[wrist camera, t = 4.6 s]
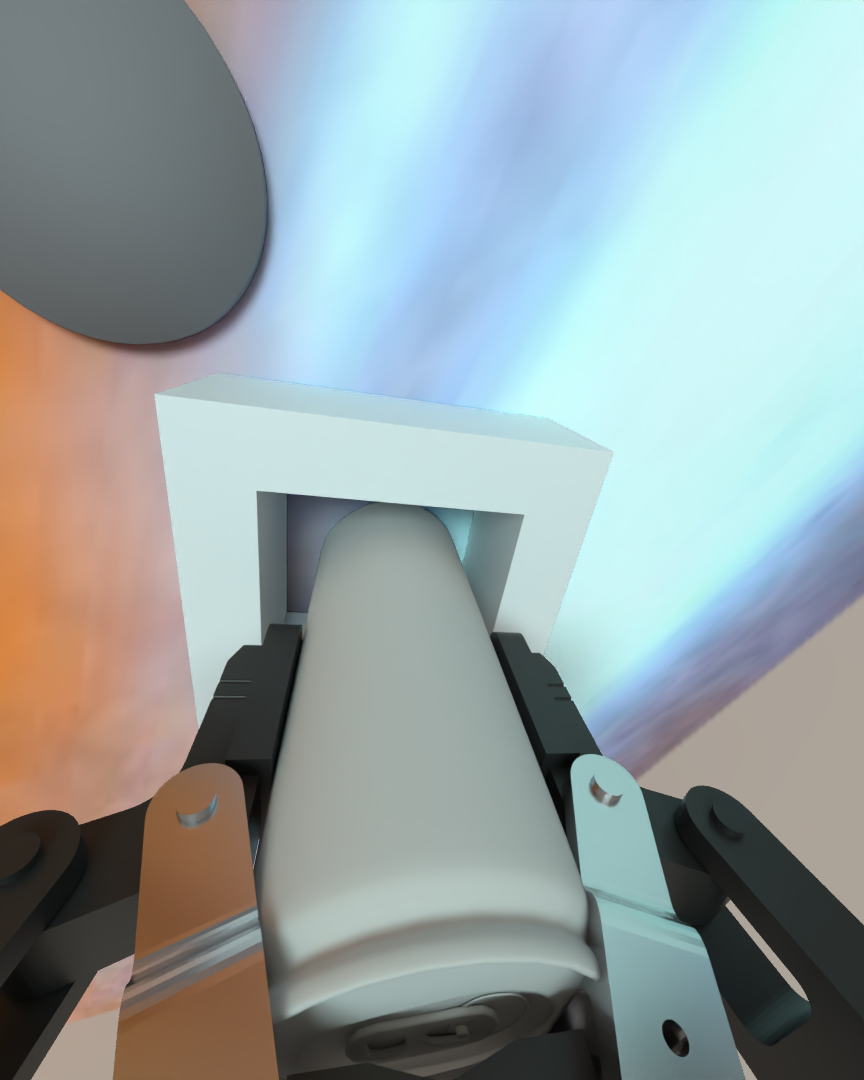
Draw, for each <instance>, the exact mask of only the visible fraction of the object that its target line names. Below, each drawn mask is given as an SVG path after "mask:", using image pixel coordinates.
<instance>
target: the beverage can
mask: <svg viewBox="0 0 864 1080" xmlns="http://www.w3.org/2000/svg"><path fill="white" fill-rule="evenodd" d="M253 874H254V882H255V891H256V900H257V908H258V916H259V921H260V927H261V934H262V941H263V949H264V958H265V966H266V975H267V983H268V992H269V1000H270V1009H271V1017H272V1025H273V1034H274V1042H275V1051H276V1059H277V1068H278V1076H279V1080H286V1078H287V1075H291V1074H298V1073H304V1072H310V1071H317V1070H323V1069H329V1068H336V1067H342V1066H348V1065H355V1064H361V1063H371V1064H375V1065H379V1066H382V1067H386V1068H390V1069H394V1070H398V1071H402V1072H406V1073H410V1074H414V1075H418V1076H421V1077H425V1078H429V1079H433V1080H453V1079H455V1078H457V1077H459V1076H460V1075H462V1074H463V1073H465V1072H466V1071H468V1070H469V1069H471V1068H473V1067H474V1066H476V1065H477V1064H479V1063H480V1062H482V1061H483V1060H485V1059H487V1058H488V1057H490V1056H491V1055H493V1054H494V1053H496V1052H497V1051H499V1050H501V1049H502V1048H504V1047H505V1046H507V1045H508V1044H510V1043H511V1042H513V1041H515V1040H516V1039H520V1038H526V1037H533V1036H539V1035H541V1034H542V1033H544V1032H545V1031H546V1030H547V1029H548V1028H549V1027H550V1025H551V1024H552V1023H553V1022H554V1021H555V1019H556V1018H557V1017H558V1016H559V1014H560V1013H561V1011H562V1010H563V1008H564V1007H565V1006H566V1004H567V1003H568V1001H569V1000H570V998H571V996H572V995H573V993H574V992H575V990H576V989H577V987H578V986H579V984H580V982H581V981H582V979H583V977H584V975H585V976H587V977H589V978H592V979H593V980H594V981H598V980H599V979H600V970H599V965H598V961H597V959H596V957H595V955H594V953H593V952H592V951H591V949H590V948H589V947H588V946H587V942H586V936H587V924H588V913H589V907H588V900H587V896H586V892H585V889H584V886H583V883H582V880H581V877H580V874H579V871H578V868H577V865H576V862H575V859H574V856H573V853H572V851H571V848H570V845H569V843H568V840H567V837H566V835H565V832H564V830H563V827H562V824H561V822H560V819H559V817H558V814H557V811H556V809H555V806H554V804H553V801H552V798H551V796H550V793H549V790H548V788H547V785H546V783H545V780H544V777H543V775H542V772H541V770H540V767H539V764H538V762H537V759H536V757H535V754H534V751H533V749H532V746H531V743H530V741H529V738H528V736H527V733H526V730H525V728H524V725H523V723H522V720H521V717H520V715H519V712H518V710H517V707H516V704H515V702H514V699H513V696H512V694H511V691H510V689H509V686H508V683H507V681H506V678H505V676H504V673H503V670H502V668H501V665H500V663H499V660H498V657H497V655H496V652H495V649H494V647H493V644H492V642H491V639H490V636H489V634H488V631H487V629H486V626H485V623H484V621H483V618H482V616H481V613H480V610H479V608H478V605H477V602H476V600H475V597H474V595H473V592H472V589H471V587H470V584H469V582H468V579H467V576H466V574H465V571H464V569H463V566H462V563H461V561H460V558H459V555H458V553H457V550H456V548H455V545H454V542H453V540H452V538H451V536H450V534H449V532H448V530H447V528H446V527H445V526H444V524H443V523H442V522H441V521H440V520H439V519H438V518H437V517H436V516H435V515H433V514H432V513H430V512H429V511H427V510H426V509H424V508H422V507H421V506H418V505H410V504H399V503H388V502H376V503H372V504H368V505H365V506H363V507H361V508H359V509H357V510H355V511H353V512H351V513H350V514H348V515H347V516H346V517H344V518H343V519H342V520H340V521H339V522H338V523H337V524H335V526H334V527H333V528H332V530H331V531H330V532H329V533H328V535H327V536H326V537H325V540H324V543H323V547H322V550H321V553H320V558H319V562H318V567H317V572H316V576H315V581H314V586H313V591H312V595H311V600H310V605H309V609H308V614H307V619H306V624H305V628H304V633H303V638H302V644H301V649H300V654H299V659H298V663H297V668H296V673H295V678H294V682H293V687H292V692H291V697H290V701H289V706H288V711H287V716H286V720H285V725H284V730H283V735H282V739H281V744H280V749H279V754H278V759H277V763H276V768H275V773H274V778H273V782H272V787H271V790H270V793H269V798H268V803H267V807H266V812H265V817H264V822H263V826H262V831H261V836H260V840H259V845H258V850H257V855H256V859H255V864H254V869H253Z"/></svg>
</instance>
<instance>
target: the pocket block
mask: <svg viewBox="0 0 864 1080" xmlns="http://www.w3.org/2000/svg"><path fill="white" fill-rule="evenodd" d="M155 402H156V409H157V417H158V424H159V432H160V440H161V447H162V455H163V462H164V470H165V478H166V485H167V493H168V500H169V508H170V516H171V523H172V531H173V538H174V546H175V554H176V561H177V569H178V576H179V584H180V592H181V599H182V607H183V614H184V622H185V630H186V637H187V645H188V652H189V660H190V668H191V675H192V683H193V690H194V698H195V706H196V713H197V721H198V728H200V726H201V723H202V721H203V718H204V716H205V714H206V711H207V709H208V706H209V704H210V702H211V699H213V694H214V692H215V690H216V687H217V685H218V683H219V682H220V678H221V675H222V673H223V671H224V668H225V666H226V663H227V661H228V660H229V659H230V658H231V657H232V656H233V655H234V654H235V653H236V652H237V651H238V650H239V649H240V648H241V647H242V646H243V645H263V642H264V639H265V636H266V633H267V630H268V627H269V625H270V624H296V625H302V638H303V633H304V628H305V624H306V619H307V614H308V613H295V612H287V493H288V494H299V495H310V496H321V497H332V498H343V499H355V500H366V501H377V502H388V503H399V504H410V505H422V506H433V507H444V508H455V509H466V510H475V511H474V516H473V520H472V525H471V530H470V534H469V539H468V544H467V549H466V553H465V558H464V563H463V569H464V571H465V574H466V576H467V579H468V582H469V584H470V587H471V589H472V592H473V595H474V597H475V600H476V602H477V605H478V608H479V610H480V613H481V616H482V618H483V621H484V623H485V626H486V629H487V631H488V634H489V636H490V635H491V633H492V632H513V633H521V634H522V635H523V637H524V638H525V640H526V642H527V644H528V646H529V649H530V651H531V653H540V654H542V655H544V652H545V649H546V646H547V643H548V641H549V638H550V635H551V632H552V629H553V626H554V623H555V620H556V618H557V615H558V612H559V609H560V606H561V603H562V600H563V597H564V594H565V592H566V589H567V586H568V583H569V580H570V577H571V574H572V571H573V569H574V566H575V563H576V560H577V557H578V554H579V551H580V548H581V546H582V543H583V540H584V537H585V534H586V531H587V528H588V525H589V522H590V520H591V517H592V514H593V511H594V508H595V505H596V502H597V499H598V497H599V494H600V491H601V488H602V485H603V482H604V479H605V476H606V474H607V471H608V468H609V465H610V462H611V459H612V456H613V453H614V452H613V451H611V450H609V449H607V448H605V447H603V446H601V445H599V444H597V443H595V442H593V441H591V440H590V439H588V438H586V437H584V436H582V435H580V434H578V433H576V432H574V431H572V430H570V429H568V428H566V427H564V426H562V425H560V424H558V423H556V422H554V421H553V420H551V419H549V418H542V417H535V416H527V415H520V414H513V413H506V412H499V411H491V410H484V409H477V408H470V407H463V406H455V405H448V404H441V403H434V402H427V401H419V400H412V399H405V398H398V397H391V396H383V395H376V394H369V393H362V392H355V391H347V390H340V389H333V388H326V387H319V386H311V385H304V384H297V383H290V382H283V381H275V380H268V379H261V378H254V377H247V376H239V375H232V374H225V373H217V374H214V375H211V376H208V377H205V378H202V379H199V380H196V381H193V382H190V383H187V384H184V385H180V386H177V387H174V388H171V389H168V390H165V391H162V392H159V393H156V394H155Z"/></svg>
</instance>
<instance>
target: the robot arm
mask: <svg viewBox="0 0 864 1080" xmlns="http://www.w3.org/2000/svg"><path fill="white" fill-rule="evenodd" d="M490 639H491V642H492V644H493V647H494V649H495V652H496V655H497V657H498V660H499V663H500V665H501V668H502V670H503V673H504V676H505V678H506V681H507V683H508V686H509V689H510V691H511V694H512V696H513V699H514V702H515V704H516V707H517V710H518V712H519V715H520V717H521V720H522V723H523V725H524V728H525V730H526V733H527V736H528V738H529V741H530V743H531V746H532V749H533V751H534V754H535V757H536V759H537V762H538V764H539V767H540V770H541V772H542V775H543V777H544V780H545V783H546V785H547V788H548V790H549V793H550V796H551V798H552V801H553V804H554V806H555V809H556V811H557V814H558V817H559V819H560V822H561V824H562V827H563V830H564V832H565V835H566V837H567V840H568V843H569V845H570V848H571V851H572V853H573V856H574V859H575V862H576V865H577V868H578V871H579V874H580V877H581V880H582V883H583V886H584V889H585V892H586V896H587V900H588V907H589V913H588V924H587V936H586V942H587V946H588V947H589V948H590V949H591V951H592V952H593V953H594V955H595V957H596V959H597V961H598V965H599V970H600V979H599V980H598V981H594V980H593V979H592V978H589V977H587V976H585V975H584V977H583V979H582V981H581V982H580V984H579V986H578V987H577V989H576V990H575V992H574V993H573V995H572V996H571V998H570V1000H569V1001H568V1003H567V1004H566V1006H565V1007H564V1008H563V1010H562V1011H561V1013H560V1014H559V1016H558V1017H557V1018H556V1019H555V1021H554V1022H553V1023H552V1024H551V1025H550V1027H549V1028H548V1029H547V1030H546V1031H545V1032H544V1033H542V1034H541V1035H539V1036H533V1037H526V1038H520V1039H516V1040H515V1041H513V1042H511V1043H510V1044H508V1045H507V1046H505V1047H504V1048H502V1049H501V1050H499V1051H497V1052H496V1053H494V1054H493V1055H491V1056H490V1057H488V1058H487V1059H485V1060H483V1061H482V1062H480V1063H479V1064H477V1065H476V1066H474V1067H473V1068H471V1069H469V1070H468V1071H466V1072H465V1073H463V1074H462V1075H460V1076H459V1077H457V1078H455V1079H453V1080H745V1076H744V1073H743V1069H742V1066H741V1063H740V1059H739V1056H738V1053H737V1050H738V1051H739V1053H740V1054H741V1056H742V1057H743V1059H744V1060H745V1061H746V1063H747V1065H748V1066H749V1068H750V1069H751V1070H752V1072H753V1074H754V1075H755V1076H756V1078H757V1080H864V925H863V924H862V923H861V922H860V921H859V920H858V919H857V918H856V917H855V916H854V915H853V914H852V913H851V912H850V911H849V910H848V909H847V908H846V907H845V906H844V905H843V904H842V903H841V902H840V901H839V900H838V899H837V898H836V897H835V896H834V895H833V894H832V893H831V892H830V891H829V890H828V889H827V888H826V887H825V886H824V885H823V884H822V883H821V882H820V881H819V880H818V879H817V878H816V877H815V876H814V875H813V874H812V873H811V872H810V871H809V870H808V869H807V868H806V867H805V866H804V865H803V864H802V863H801V862H800V861H799V860H798V859H797V858H796V857H795V856H794V855H793V854H792V853H791V852H790V851H789V850H788V849H787V848H786V847H785V846H784V845H783V844H782V843H781V842H780V841H779V840H778V839H777V838H776V837H775V836H774V835H773V834H772V833H771V832H770V831H769V830H768V829H767V828H766V827H765V826H764V825H763V824H762V823H761V822H760V821H759V820H758V819H757V818H756V817H755V816H754V815H753V814H752V813H751V812H750V811H749V810H748V809H746V808H745V807H744V806H743V805H742V804H741V803H740V802H739V801H737V800H736V799H734V798H733V797H731V796H730V795H728V794H726V793H725V792H723V791H720V790H718V789H716V788H712V787H709V786H696V787H693V788H691V789H690V790H689V791H688V793H687V794H686V796H685V797H684V798H683V800H682V799H678V798H675V797H672V796H668V795H664V794H661V793H658V792H654V791H651V790H647V789H645V788H642V787H639V785H638V784H637V782H636V781H635V779H634V778H633V777H632V776H631V775H630V773H629V772H628V771H626V770H625V769H624V768H623V767H622V766H621V765H619V764H618V763H616V762H615V761H613V760H611V759H609V758H607V757H604V756H603V755H602V754H601V752H600V750H599V748H598V746H597V745H596V743H595V741H594V739H593V737H592V735H591V733H590V732H589V730H588V728H587V726H586V724H585V722H584V721H583V719H582V717H581V715H580V713H579V711H578V709H577V708H576V706H575V704H574V702H573V701H571V696H570V695H569V693H568V691H567V689H566V687H564V686H563V684H564V683H563V682H562V680H561V678H560V676H559V674H558V672H557V670H556V669H555V667H554V666H553V665H552V664H551V663H550V662H549V661H548V660H547V659H546V658H545V657H544V656H543V655H542V654H540V653H531V651H530V649H529V646H528V644H527V642H526V640H525V638H524V637H523V635H522V634H521V633H513V632H492V633H491V635H490ZM301 644H302V625H296V624H270V625H269V627H268V630H267V633H266V636H265V639H264V642H263V645H243V646H242V647H241V648H240V649H239V650H238V651H237V652H236V653H235V654H234V655H233V656H232V657H231V658H230V659H229V660H228V661H227V663H226V666H225V668H224V671H223V673H222V675H221V678H220V682H219V683H218V685H217V687H216V690H215V692H214V694H213V699H211V702H210V704H209V706H208V709H207V711H206V714H205V716H204V718H203V721H202V723H201V726H200V728H199V730H198V733H197V735H196V738H195V740H194V742H193V745H192V747H191V750H190V752H189V754H188V757H187V759H186V762H185V763H184V765H183V767H182V769H181V771H180V772H179V773H178V774H177V775H175V776H173V777H172V778H171V779H170V780H168V781H167V782H166V783H165V784H164V785H163V786H162V787H161V788H160V789H159V790H158V791H157V793H156V794H155V795H154V797H152V798H151V799H149V800H147V801H146V802H144V803H142V804H140V805H138V806H135V807H133V808H130V809H127V810H124V811H121V812H118V813H115V814H112V815H109V816H106V817H103V818H100V819H97V820H93V821H90V822H87V823H84V824H81V825H78V822H77V821H76V820H75V818H74V817H73V816H71V815H70V814H68V813H65V812H63V811H57V810H45V811H39V812H34V813H30V814H27V815H24V816H21V817H19V818H16V819H14V820H12V821H10V822H8V823H6V824H4V825H2V826H0V1080H31V1079H32V1077H33V1075H34V1074H35V1072H36V1070H37V1069H38V1067H39V1065H40V1064H41V1062H42V1061H43V1059H44V1057H45V1056H46V1054H47V1052H48V1051H49V1049H50V1048H51V1046H52V1044H53V1043H54V1041H55V1040H56V1038H57V1036H58V1035H59V1033H60V1032H61V1030H62V1028H63V1027H64V1025H65V1023H66V1022H67V1020H68V1019H69V1017H70V1015H71V1014H72V1012H73V1010H74V1009H75V1007H76V1006H77V1004H78V1002H79V1001H80V999H81V997H82V996H83V994H84V993H85V991H86V989H87V988H88V986H89V984H90V983H91V981H92V980H93V978H94V976H95V975H96V973H97V971H98V970H100V969H102V968H105V967H107V966H109V965H111V964H113V963H115V962H118V961H120V960H122V959H124V958H126V957H128V956H131V955H133V954H135V955H134V965H133V971H132V976H131V980H130V982H129V983H128V984H127V985H126V987H125V990H124V993H123V997H122V1002H121V1007H120V1014H119V1021H118V1030H117V1040H116V1051H115V1061H114V1072H113V1080H279V1076H278V1068H277V1059H276V1051H275V1042H274V1034H273V1025H272V1017H271V1009H270V1000H269V992H268V983H267V975H266V966H265V958H264V949H263V941H262V934H261V927H260V921H259V916H258V908H257V900H256V891H255V882H254V874H253V864H254V860H255V855H256V850H257V846H258V841H259V839H260V836H261V831H262V826H263V822H264V817H265V812H266V807H267V803H268V798H269V793H270V790H271V787H272V782H273V778H274V773H275V768H276V763H277V759H278V754H279V749H280V744H281V739H282V735H283V730H284V725H285V720H286V716H287V711H288V706H289V701H290V697H291V692H292V687H293V682H294V678H295V673H296V668H297V663H298V659H299V654H300V649H301ZM730 900H731V901H732V902H733V903H734V904H735V905H736V907H737V908H738V909H739V910H740V912H741V913H742V914H743V915H744V916H745V918H746V919H747V920H748V921H749V922H750V923H751V925H752V926H753V927H754V929H755V930H756V931H757V932H758V933H759V935H760V936H761V937H762V938H763V939H764V941H765V942H766V943H767V944H768V946H769V947H770V948H771V949H772V951H773V952H774V953H775V954H776V955H777V957H778V958H779V959H780V960H781V961H782V963H783V964H784V965H785V966H786V967H787V969H788V970H789V971H790V972H791V974H792V975H793V976H794V977H795V979H796V980H797V981H798V983H799V984H800V985H801V987H802V988H803V990H804V992H805V994H806V996H807V998H808V1000H809V1001H807V1000H805V999H804V998H802V997H801V996H800V995H798V994H797V993H796V992H795V991H794V990H793V989H792V988H791V987H790V985H789V984H788V983H787V982H786V981H785V979H784V978H783V977H782V976H781V974H780V973H779V972H778V971H777V969H776V968H775V967H774V966H773V964H772V963H771V962H770V961H769V960H768V958H767V957H766V956H765V954H764V953H763V952H762V951H761V950H760V948H759V947H758V946H757V945H756V943H755V942H754V941H753V940H752V938H751V937H750V936H749V935H748V933H747V932H746V931H745V930H744V928H743V927H742V926H741V925H740V924H739V922H738V921H737V920H736V918H735V917H734V916H733V915H732V913H731V912H730V911H729V910H728V908H727V907H726V906H725V905H726V904H727V903H728V902H729V901H730ZM736 1048H737V1049H736ZM286 1080H433V1079H429V1078H425V1077H421V1076H418V1075H414V1074H410V1073H406V1072H402V1071H398V1070H394V1069H390V1068H386V1067H382V1066H379V1065H375V1064H371V1063H361V1064H355V1065H348V1066H342V1067H336V1068H329V1069H323V1070H317V1071H310V1072H304V1073H298V1074H291V1075H287V1078H286Z"/></svg>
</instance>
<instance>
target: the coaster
mask: <svg viewBox="0 0 864 1080" xmlns="http://www.w3.org/2000/svg"><path fill="white" fill-rule="evenodd" d="M267 205H268V203H267V188H266V177H265V171H264V166H263V160H262V154H261V150H260V146H259V143H258V139H257V136H256V132H255V129H254V125H253V123H252V120H251V117H250V115H249V112H248V110H247V107H246V104H245V102H244V99H243V97H242V95H241V93H240V91H239V89H238V87H237V85H236V83H235V81H234V79H233V77H232V75H231V73H230V71H229V69H228V67H227V65H226V63H225V61H224V59H223V57H222V56H221V54H220V52H219V51H218V49H217V47H216V46H215V44H214V43H213V41H212V39H211V38H210V36H209V34H208V33H207V31H206V30H205V28H204V26H203V25H202V24H201V22H200V21H199V20H198V18H197V17H196V16H195V14H194V13H193V12H192V10H191V9H190V8H189V6H188V5H187V4H186V2H185V1H184V0H0V290H2V291H3V292H4V293H5V294H7V295H8V296H10V297H11V298H13V299H14V300H16V301H17V302H18V303H20V304H21V305H23V306H24V307H26V308H27V309H29V310H31V311H33V312H34V313H36V314H38V315H40V316H41V317H43V318H45V319H47V320H48V321H50V322H53V323H55V324H57V325H59V326H62V327H64V328H66V329H68V330H71V331H73V332H76V333H80V334H83V335H86V336H89V337H92V338H96V339H100V340H105V341H110V342H115V343H127V344H150V343H164V342H169V341H174V340H179V339H183V338H186V337H189V336H192V335H194V334H197V333H199V332H201V331H203V330H205V329H207V328H208V327H210V326H212V325H214V324H215V323H216V322H218V321H219V320H220V319H221V318H223V317H224V316H225V315H226V314H228V312H229V311H230V310H231V309H232V308H233V307H234V306H235V305H236V304H237V303H238V301H239V300H240V299H241V297H242V296H243V294H244V293H245V291H246V290H247V288H248V286H249V285H250V283H251V280H252V278H253V276H254V274H255V272H256V270H257V267H258V264H259V260H260V257H261V254H262V250H263V246H264V240H265V234H266V227H267Z"/></svg>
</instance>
